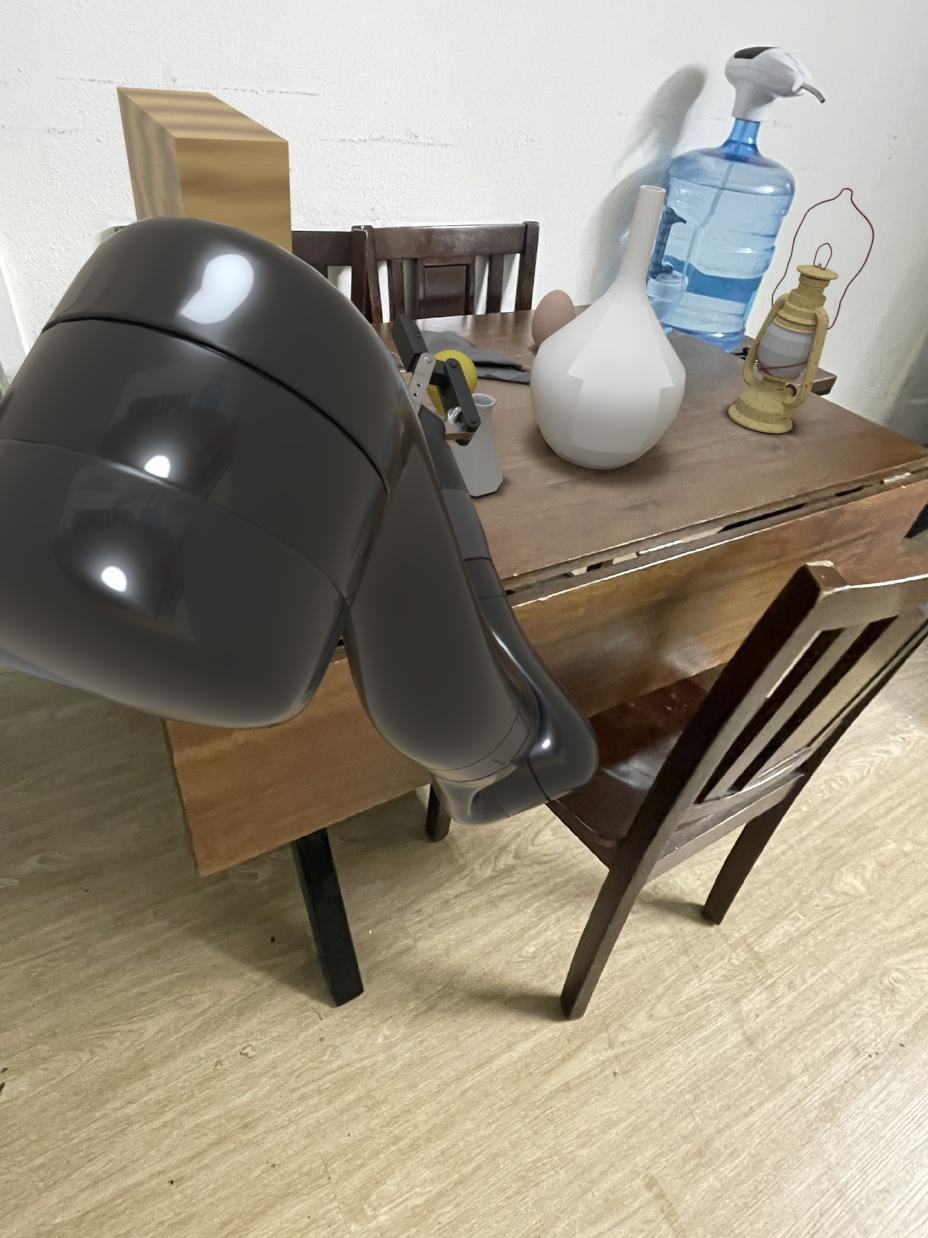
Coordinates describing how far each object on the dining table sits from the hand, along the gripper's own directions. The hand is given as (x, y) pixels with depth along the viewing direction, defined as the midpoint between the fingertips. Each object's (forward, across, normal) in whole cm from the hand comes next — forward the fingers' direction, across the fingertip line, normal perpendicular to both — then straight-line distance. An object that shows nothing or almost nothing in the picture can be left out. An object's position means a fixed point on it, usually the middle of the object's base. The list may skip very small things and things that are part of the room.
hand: (343, 325), depth 54 cm
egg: (+27, -53, +44) cm, 74 cm away
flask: (-1, -21, +28) cm, 35 cm away
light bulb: (+10, -24, +34) cm, 43 cm away
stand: (+23, 0, +41) cm, 47 cm away
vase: (+1, -40, +28) cm, 49 cm away
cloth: (+28, -37, +44) cm, 64 cm away
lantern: (+1, -71, +29) cm, 77 cm away
